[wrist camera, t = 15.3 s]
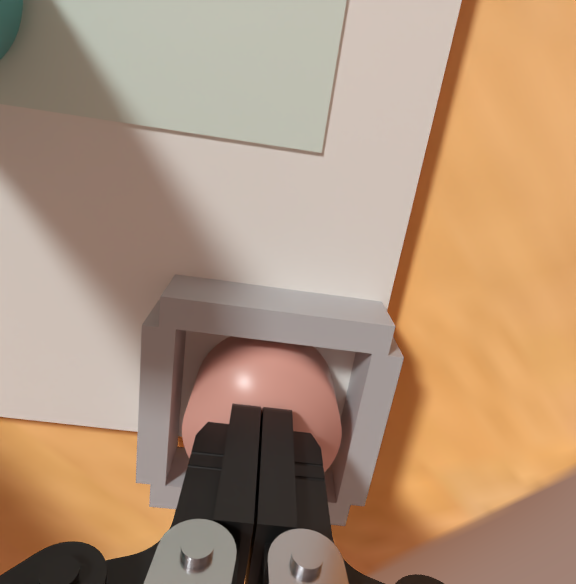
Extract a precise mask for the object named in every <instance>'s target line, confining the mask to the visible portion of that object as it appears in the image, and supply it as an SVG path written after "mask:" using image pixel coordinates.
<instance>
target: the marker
mask: <svg viewBox="0 0 576 584" xmlns="http://www.w3.org/2000/svg"><path fill="white" fill-rule="evenodd" d="M22 10H23V0H0V60H1V59H2V58H3V57H4V55H5V54H6V53H7V52H8V51H9V49H10V47H11V46H12V44H13V42H14V40H15V38H16V35H17V33H18V30H19V27H20V23H21V18H22Z"/></svg>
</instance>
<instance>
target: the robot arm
mask: <svg viewBox="0 0 576 584" xmlns="http://www.w3.org/2000/svg"><path fill="white" fill-rule="evenodd" d="M260 417H261V407H260V406H251V405H243V404H234V403H233V404H232V409H231V415H230V421H229V424H224V423H215V422H207V423H206V424H205V426H204V427H203V428H202V429H201V430H200V431H199V432H198V433H197V434H196V436H195V440H194V444H193V447H192V451H191V455H190V459H189V462H188V467H187V470H186V474H185V478H184V481H183V485H182V489H181V493H180V496H179V500H178V504H177V508H176V512H175V515H174V519H173V522H172V525H171V527H170V529H169V530H168V531H167V532H166V533H165V534H164V536H163V537H162V538H161V540H160V541H159V542H158V543H156V544H155V545H154V546H152V547H150V548H149V549H147V550H145V551H142V552H140V553H137V554H134V555H130V556H125V557H120V558H116V559H111V560H106V561H105V559H104V557H103V555H102V554H101V553H100V551H99V550H97V549H96V548H95V547H93V546H91V545H89V544H86V543H83V542H63V543H58V544H55V545H52V546H49V547H47V548H45V549H43V550H41V551H39V552H37V553H36V554H34V555H33V556H31V557H29V558H28V559H26V560H25V561H23V562H21V563H20V564H18V565H17V566H15V567H13V568H12V569H10V570H9V571H7V572H5V573H4V574H2V575H1V576H0V584H244V581H245V584H384V583H382V582H379V581H377V580H375V579H372V578H370V577H367V576H365V575H363V574H361V573H360V572H358V571H356V570H355V569H354V568H352V567H351V566H350V565H349V564H348V563H347V562H346V561H345V560H344V559H343V557H342V555H341V553H340V551H339V550H338V548H337V547H336V545H335V544H334V542H333V538H332V531H331V523H330V515H329V507H328V499H327V492H326V484H325V476H324V468H323V460H322V452H321V447H320V446H319V444H318V443H317V441H316V440H315V438H314V437H313V435H312V434H311V433H306V432H297V431H293V417H292V410H287V409H279V408H270V407H263V410H262V417H261V424H260ZM245 575H246V577H245ZM396 584H444V583H442V582H440V581H439V580H436V579H434V578H432V577H429V576H425V575H408V576H406V577H403V578H401V579H400V580H398V582H397V583H396Z"/></svg>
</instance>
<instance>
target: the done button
mask: <svg viewBox="0 0 576 584" xmlns="http://www.w3.org/2000/svg"><path fill="white" fill-rule="evenodd" d="M233 403H234V404H243V405H251V406H260V407H261V417H262V410H263V407H270V408H279V409H287V410H292V417H293V431H297V432H306V433H311V434H312V435H313V437H314V438H315V440H316V441H317V443H318V444H319V446H320V447H321V452H322V460H323V468H324V472H325V471H326V470H327V469H328V468H329V467H330V465H331V464H332V462H333V461H334V459H335V457H336V455H337V453H338V450H339V447H340V443H341V437H342V426H341V421H340V415H339V410H338V405H337V400H336V395H335V390H334V384H333V379H332V375H331V372H330V369H329V367H328V365H327V363H326V361H325V359H324V358H323V357H322V355H321V354H320V353H319V352H318V351H317V350H316V348H314V347H313V346H306V345H298V344H290V343H282V342H274V341H265V340H257V339H249V338H241V337H233V336H230V337H228V338H226V339H225V340H223V341H221V342H220V343H219V344H217V345H216V346H215V347H214V348H213V349H212V350H211V351H210V352H209V353H208V354H207V356H206V357H205V359H204V360H203V362H202V364H201V366H200V368H199V371H198V374H197V377H196V380H195V383H194V387H193V390H192V393H191V396H190V399H189V402H188V405H187V408H186V411H185V414H184V417H183V423H182V438H183V444H184V447H185V450H186V453H187V455H188V457H189V459H190V455H191V451H192V447H193V444H194V440H195V436H196V434H197V433H198V432H199V431H200V430H201V429H202V428H203V427H204V426H205V424H206V423H207V422H215V423H224V424H229V421H230V415H231V409H232V404H233ZM261 417H260V424H261Z"/></svg>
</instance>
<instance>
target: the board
mask: <svg viewBox="0 0 576 584" xmlns="http://www.w3.org/2000/svg"><path fill="white" fill-rule="evenodd" d="M461 2H462V0H23V10H22V18H21V23H20V27H19V30H18V33H17V35H16V38H15V40H14V42H13V44H12V46H11V47H10V49H9V51H8V52H7V53H6V54H5V55H4V57H3V58H2V59H1V60H0V417H7V418H16V419H25V420H34V421H44V422H53V423H62V424H71V425H80V426H89V427H98V428H107V429H116V430H126V431H135V432H138V439H137V466H136V483H142V484H151V486H150V505H149V507H159V508H169V509H176V508H177V504H178V500H179V496H180V493H181V489H182V485H183V481H184V478H185V474H186V470H187V467H188V462H189V457H188V455H187V453H186V450H185V448H183V447H178V436H180V437H182V423H183V417H184V414H185V411H186V408H187V405H188V402H189V399H190V396H191V393H192V390H193V387H194V383H195V380H196V377H197V374H198V371H199V368H200V366H201V364H202V362H203V360H204V359H205V357H206V356H207V354H208V353H209V352H210V351H211V350H212V349H213V348H214V347H215V346H216V345H217V344H219V343H220V342H221V341H223V340H225V339H226V338H228V337H230V336H233V337H241V338H249V339H257V340H265V341H274V342H282V343H290V344H298V345H306V346H313V347H314V348H316V350H317V351H318V352H319V353H320V354H321V355H322V357H323V358H324V359H325V361H326V363H327V365H328V367H329V369H330V372H331V375H332V379H333V384H334V390H335V395H336V400H337V405H338V410H339V415H340V421H341V426H342V437H341V443H340V447H339V450H338V453H337V455H336V457H335V459H334V461H333V462H332V464H331V465H330V467H329V468H328V469H327V470H326V471H325V472H324V476H325V484H326V492H327V499H328V507H329V515H330V523H331V525H340V526H345V525H346V521H347V517H348V513H349V509H350V505H357V506H365V502H366V499H367V495H368V491H369V487H370V483H371V480H372V476H373V472H374V468H375V465H376V461H377V457H378V453H379V450H380V446H381V442H382V438H383V435H384V431H385V427H386V423H387V420H388V416H389V412H390V408H391V404H392V401H393V397H394V393H395V389H396V386H397V382H398V378H399V374H400V371H401V367H402V363H403V359H404V357H403V355H402V353H401V351H400V349H399V347H398V345H397V343H396V341H395V339H394V337H393V334H394V330H395V325H394V323H393V321H392V319H391V317H390V316H389V314H388V312H387V309H388V304H389V300H390V296H391V292H392V288H393V284H394V280H395V275H396V271H397V267H398V263H399V259H400V255H401V251H402V246H403V242H404V238H405V234H406V230H407V226H408V222H409V217H410V213H411V209H412V205H413V201H414V197H415V193H416V188H417V184H418V180H419V176H420V172H421V168H422V164H423V159H424V155H425V151H426V147H427V143H428V139H429V135H430V130H431V126H432V122H433V118H434V114H435V110H436V106H437V101H438V97H439V93H440V89H441V85H442V81H443V77H444V72H445V68H446V64H447V60H448V56H449V52H450V48H451V43H452V39H453V35H454V31H455V27H456V23H457V18H458V14H459V10H460V6H461Z"/></svg>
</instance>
